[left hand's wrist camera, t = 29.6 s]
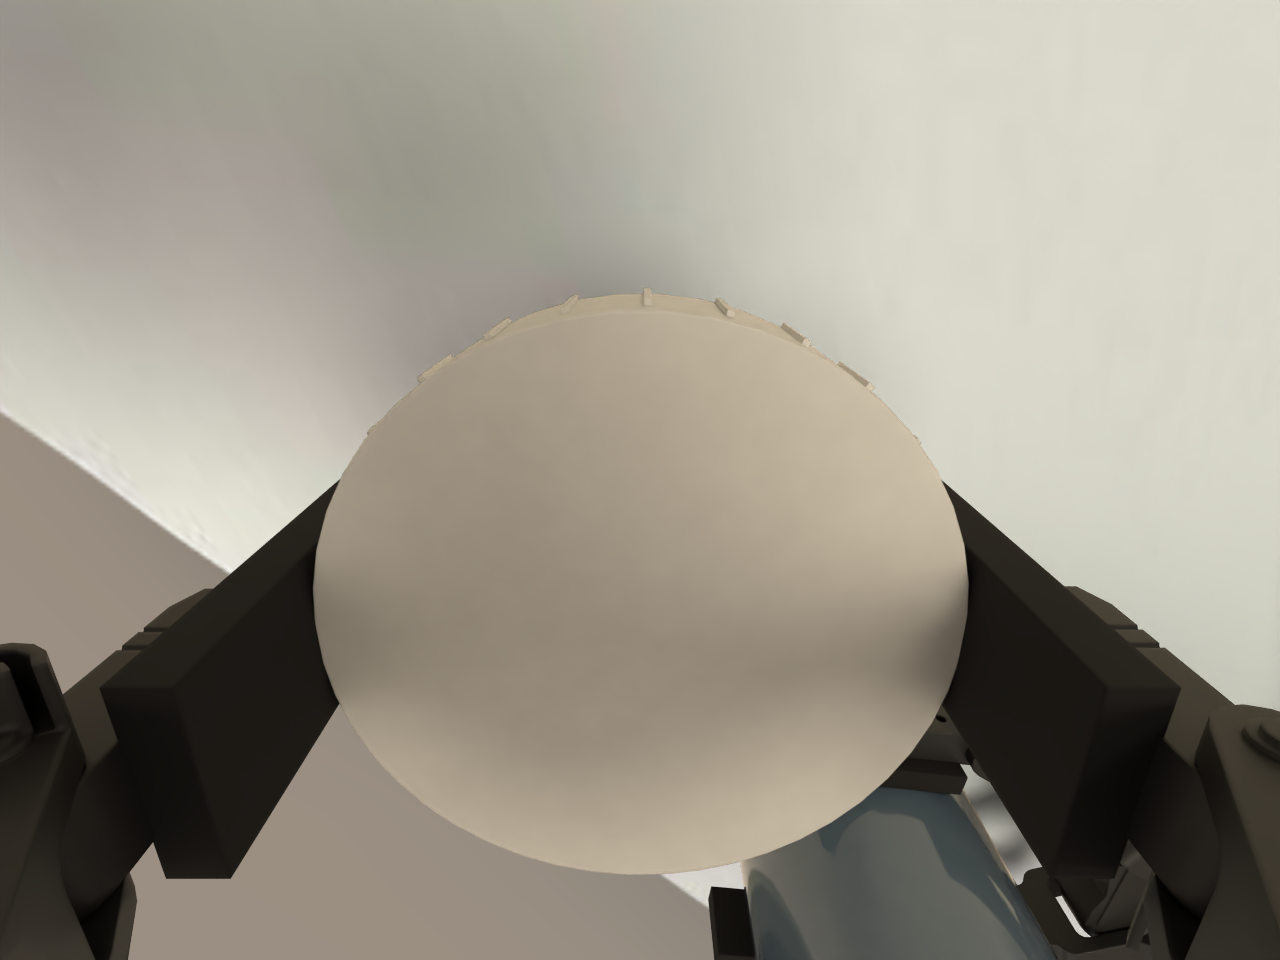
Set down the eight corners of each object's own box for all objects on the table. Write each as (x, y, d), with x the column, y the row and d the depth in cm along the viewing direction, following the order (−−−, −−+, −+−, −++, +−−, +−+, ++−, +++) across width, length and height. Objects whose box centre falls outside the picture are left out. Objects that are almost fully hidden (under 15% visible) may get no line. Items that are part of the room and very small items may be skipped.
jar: (795, 617, 28) (971, 1073, 13) (956, 703, 30) (1270, 1193, 15) (684, 756, 31) (726, 1262, 16) (836, 828, 33) (1002, 1346, 18)
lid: (275, 641, 12) (208, 717, 11) (541, 151, 9) (516, 135, 8) (706, 853, 14) (716, 951, 12) (1038, 501, 11) (1118, 558, 9)
